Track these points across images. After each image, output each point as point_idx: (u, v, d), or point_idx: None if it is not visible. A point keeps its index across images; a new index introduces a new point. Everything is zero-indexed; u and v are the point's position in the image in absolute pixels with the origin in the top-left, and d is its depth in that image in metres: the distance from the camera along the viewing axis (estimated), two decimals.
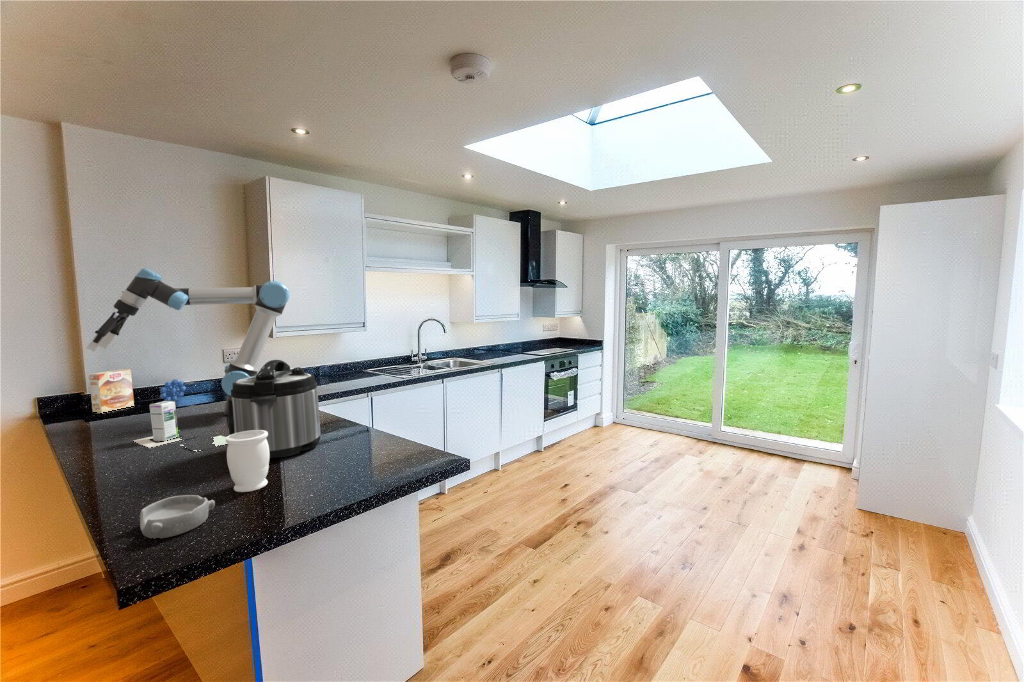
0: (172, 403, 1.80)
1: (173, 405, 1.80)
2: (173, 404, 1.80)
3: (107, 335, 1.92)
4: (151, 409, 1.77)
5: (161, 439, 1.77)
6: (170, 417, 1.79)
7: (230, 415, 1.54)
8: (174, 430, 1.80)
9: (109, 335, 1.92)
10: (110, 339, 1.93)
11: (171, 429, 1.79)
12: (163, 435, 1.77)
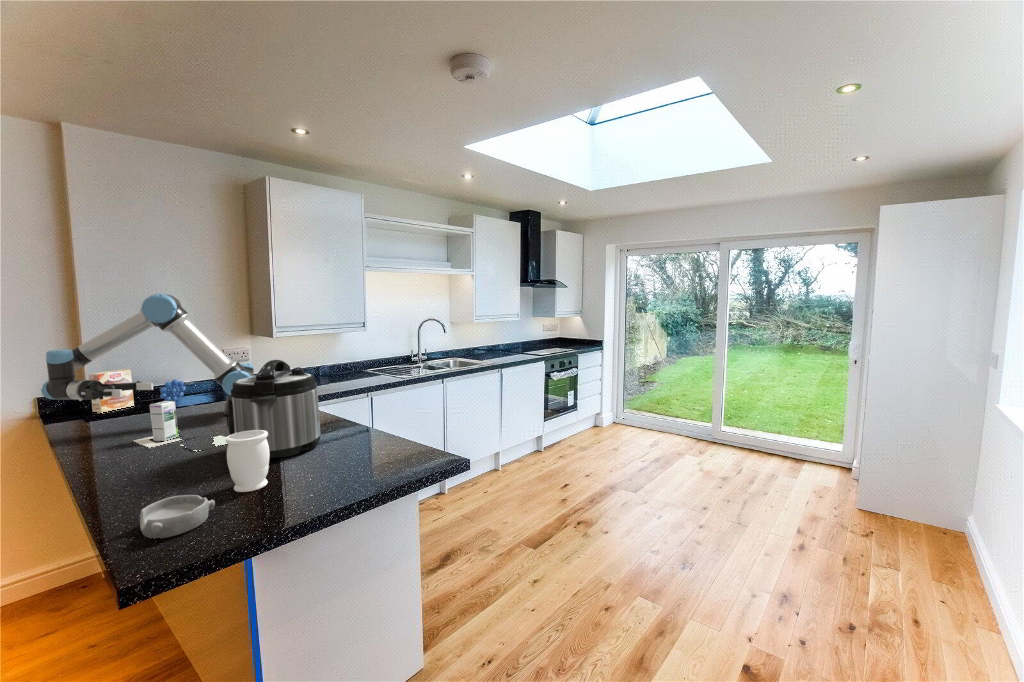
0: (172, 403, 1.80)
1: (173, 405, 1.80)
2: (173, 404, 1.80)
3: (139, 388, 1.86)
4: (151, 409, 1.77)
5: (161, 439, 1.77)
6: (170, 417, 1.79)
7: (230, 415, 1.54)
8: (174, 430, 1.80)
9: (138, 386, 1.86)
10: (141, 384, 1.86)
11: (171, 429, 1.79)
12: (163, 435, 1.77)
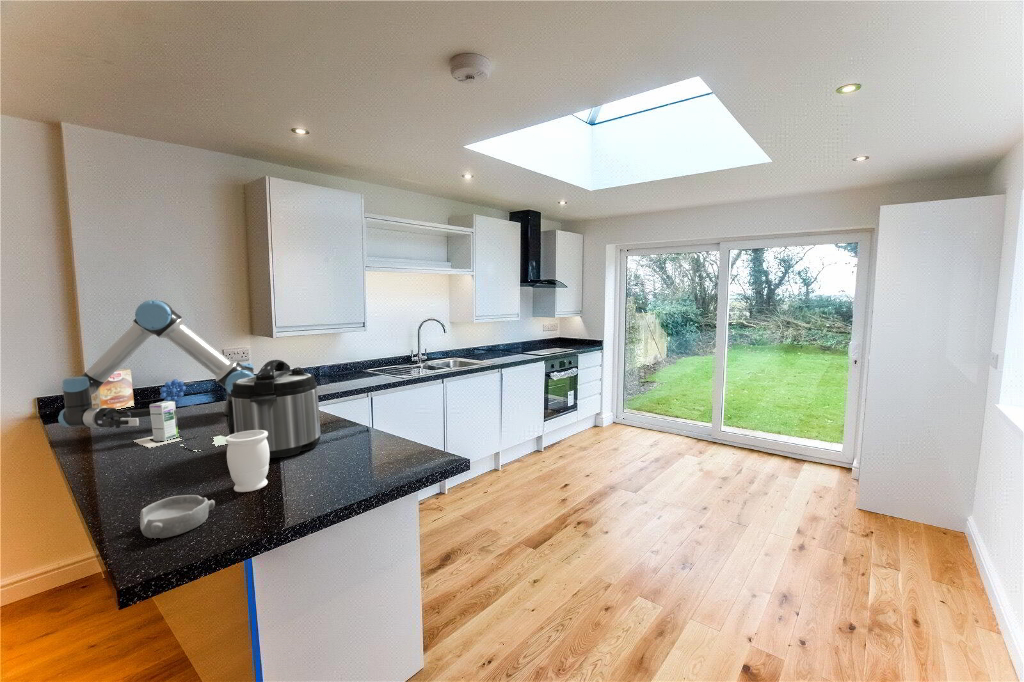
0: (172, 403, 1.80)
1: (173, 405, 1.80)
2: (173, 404, 1.80)
3: None
4: (151, 409, 1.77)
5: (161, 439, 1.77)
6: (170, 417, 1.79)
7: (230, 415, 1.54)
8: (174, 430, 1.80)
9: None
10: None
11: (171, 429, 1.79)
12: (163, 435, 1.77)
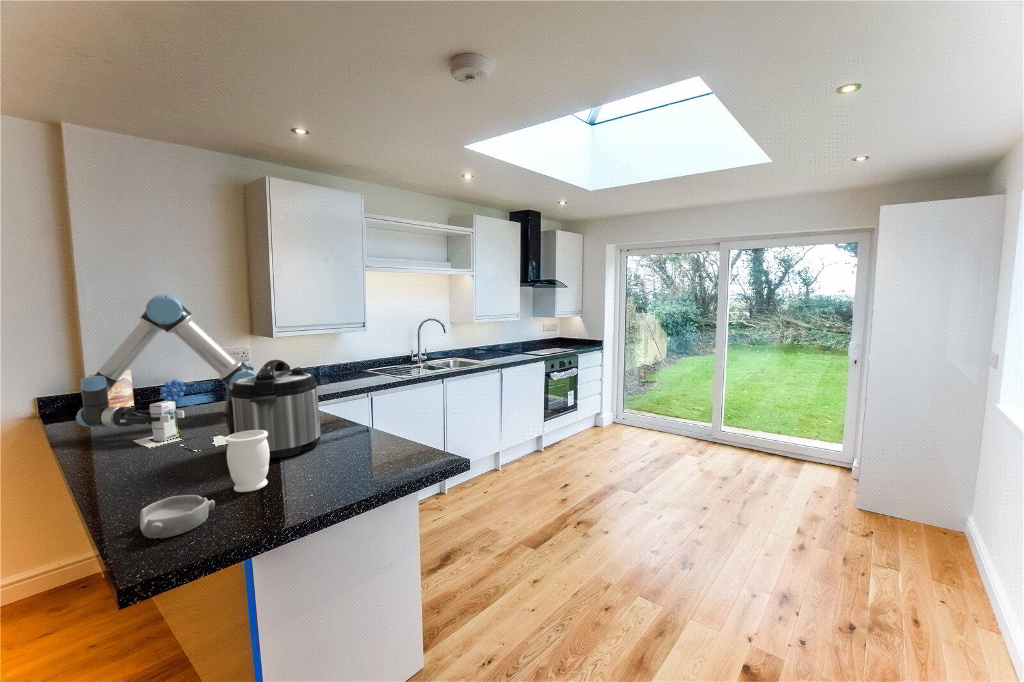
0: (172, 403, 1.80)
1: (173, 405, 1.80)
2: (173, 404, 1.80)
3: None
4: (151, 409, 1.77)
5: (161, 439, 1.77)
6: (170, 417, 1.79)
7: (230, 415, 1.54)
8: (174, 430, 1.80)
9: None
10: None
11: (171, 429, 1.79)
12: (163, 435, 1.77)
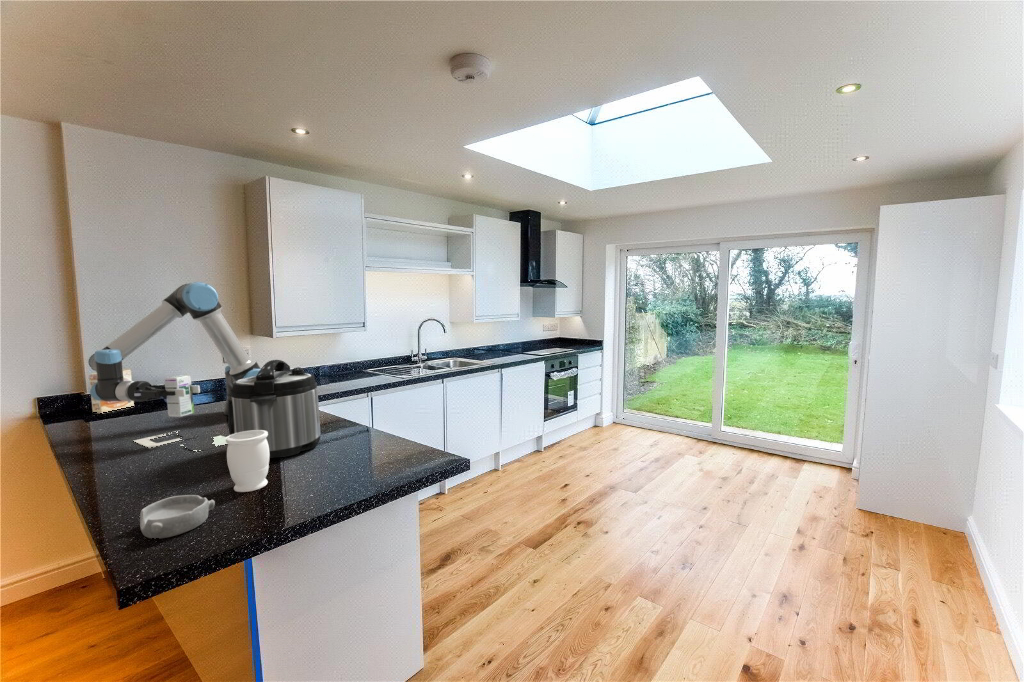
0: (187, 377, 1.73)
1: (189, 379, 1.73)
2: (188, 378, 1.73)
3: None
4: (166, 383, 1.70)
5: (176, 414, 1.70)
6: (186, 391, 1.72)
7: (230, 415, 1.54)
8: (189, 405, 1.73)
9: None
10: None
11: (186, 404, 1.72)
12: (178, 410, 1.70)
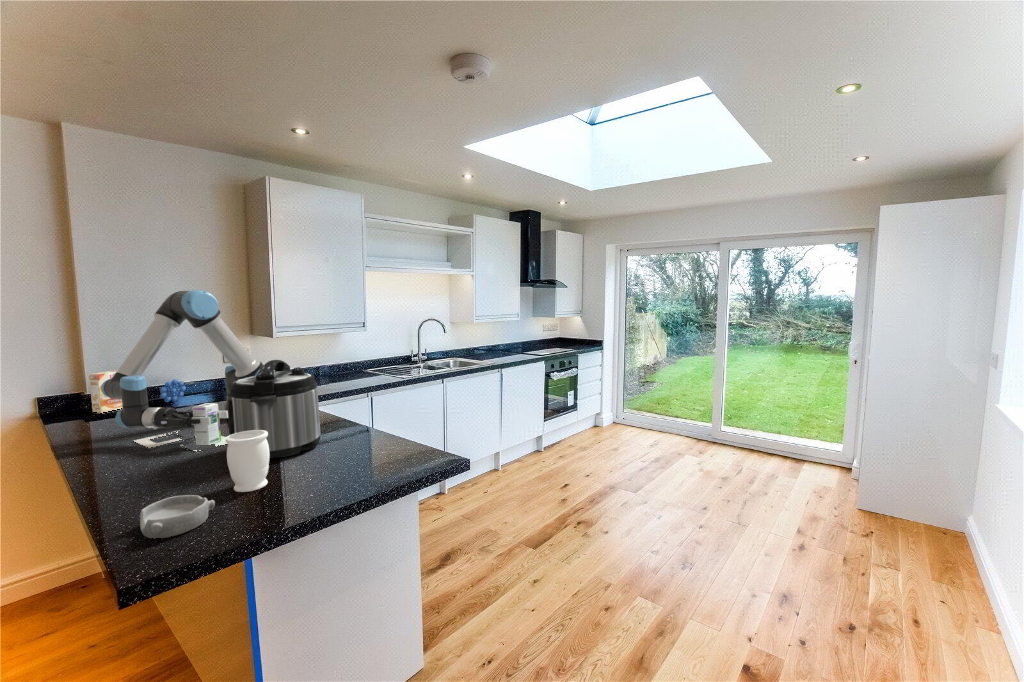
0: (215, 405, 1.72)
1: (216, 407, 1.73)
2: (216, 406, 1.73)
3: None
4: (194, 411, 1.69)
5: (204, 443, 1.69)
6: (214, 419, 1.71)
7: (230, 415, 1.54)
8: (217, 433, 1.73)
9: None
10: None
11: (214, 432, 1.71)
12: (207, 439, 1.69)
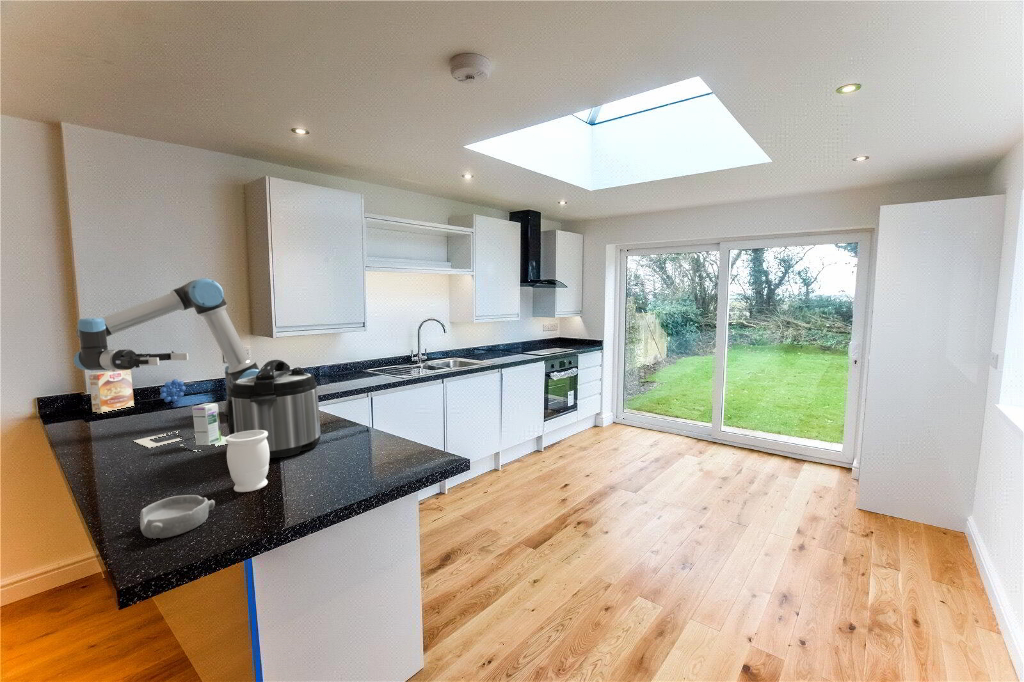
0: (215, 405, 1.72)
1: (216, 407, 1.73)
2: (216, 406, 1.72)
3: (174, 358, 1.79)
4: (194, 412, 1.69)
5: (204, 443, 1.69)
6: (214, 419, 1.71)
7: (230, 415, 1.54)
8: (217, 433, 1.73)
9: (173, 357, 1.79)
10: (176, 354, 1.79)
11: (214, 432, 1.71)
12: (207, 439, 1.69)
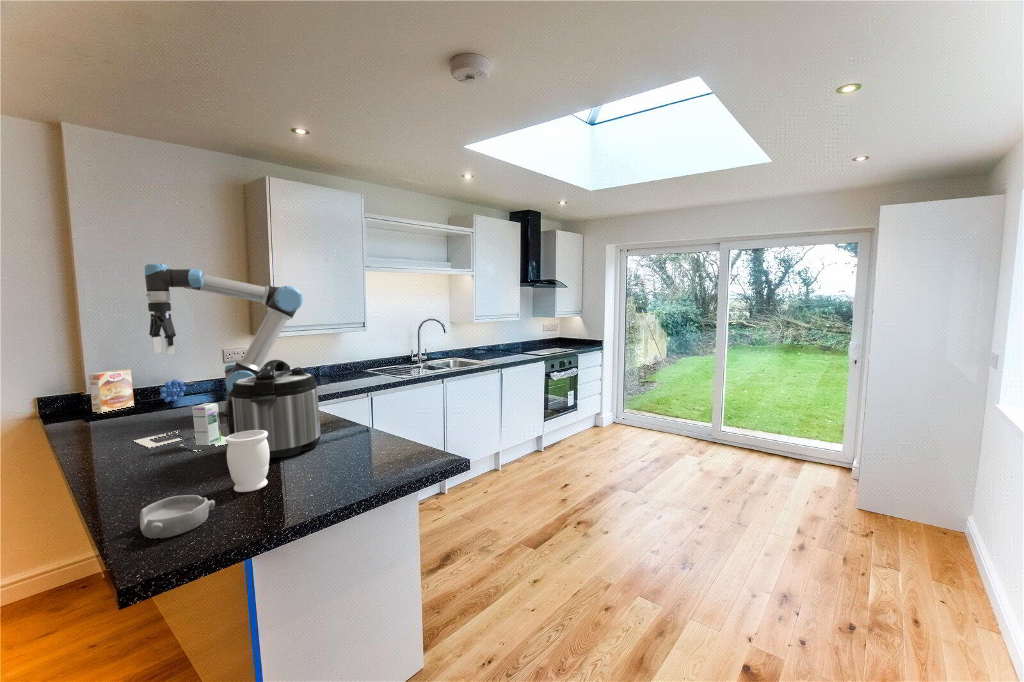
0: (215, 405, 1.72)
1: (216, 407, 1.73)
2: (216, 406, 1.72)
3: (154, 340, 1.96)
4: (194, 412, 1.69)
5: (204, 443, 1.69)
6: (214, 419, 1.71)
7: (230, 415, 1.54)
8: (217, 433, 1.73)
9: (156, 339, 1.97)
10: (159, 342, 1.98)
11: (214, 432, 1.71)
12: (207, 439, 1.69)
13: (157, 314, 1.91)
